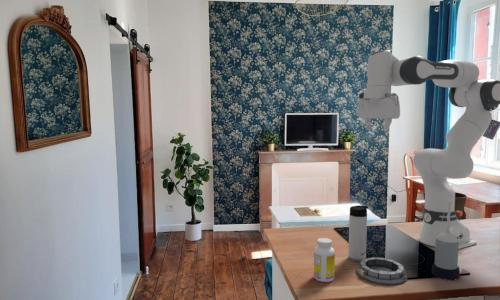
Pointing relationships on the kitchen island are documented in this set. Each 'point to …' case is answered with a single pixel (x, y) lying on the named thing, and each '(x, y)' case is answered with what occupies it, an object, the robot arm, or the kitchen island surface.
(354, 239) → the travel mug
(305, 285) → the kitchen island surface
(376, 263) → the collar
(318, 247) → the supplement bottle
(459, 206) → the plant pot
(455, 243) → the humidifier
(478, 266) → the kitchen island surface
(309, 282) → the kitchen island surface
